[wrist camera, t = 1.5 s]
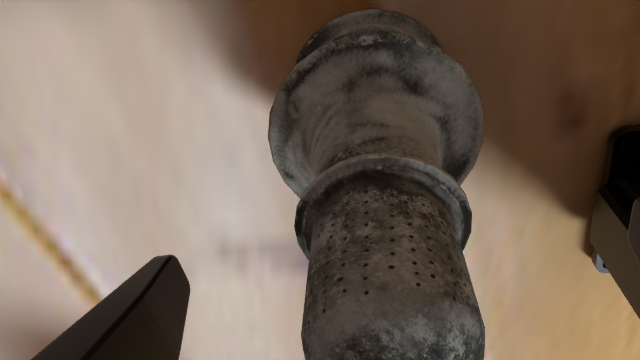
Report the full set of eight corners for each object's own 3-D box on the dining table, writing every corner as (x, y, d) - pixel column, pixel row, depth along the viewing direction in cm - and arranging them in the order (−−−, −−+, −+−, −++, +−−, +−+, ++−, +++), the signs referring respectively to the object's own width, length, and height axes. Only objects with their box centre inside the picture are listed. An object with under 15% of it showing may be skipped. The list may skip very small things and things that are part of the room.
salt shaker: (278, -3, 14) (113, 287, 4) (473, -1, 14) (770, 312, 4) (287, 162, 18) (203, 544, 8) (445, 165, 17) (575, 568, 7)
